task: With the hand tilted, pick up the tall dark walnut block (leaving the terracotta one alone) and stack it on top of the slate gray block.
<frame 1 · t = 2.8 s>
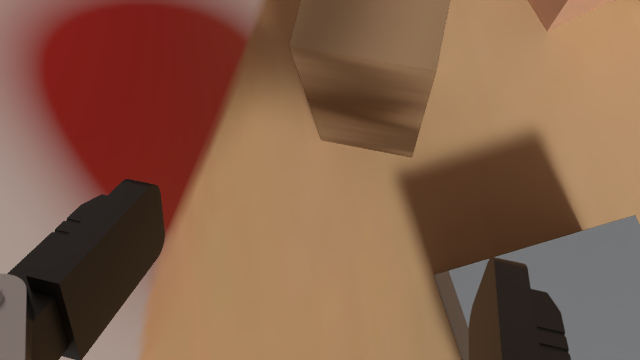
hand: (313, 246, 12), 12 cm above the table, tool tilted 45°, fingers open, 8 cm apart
walnut block: (375, 105, 26), on the table
slate gray block: (535, 329, 23), on the table
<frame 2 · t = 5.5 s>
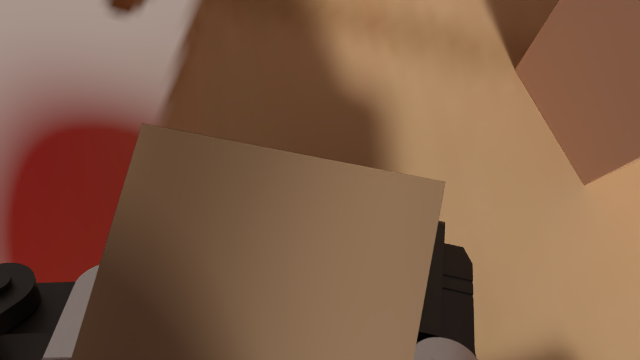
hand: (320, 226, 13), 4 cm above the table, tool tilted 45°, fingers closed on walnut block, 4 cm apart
walnut block: (321, 299, 17), on the table, touching gripper
terracotta block: (609, 97, 17), on the table
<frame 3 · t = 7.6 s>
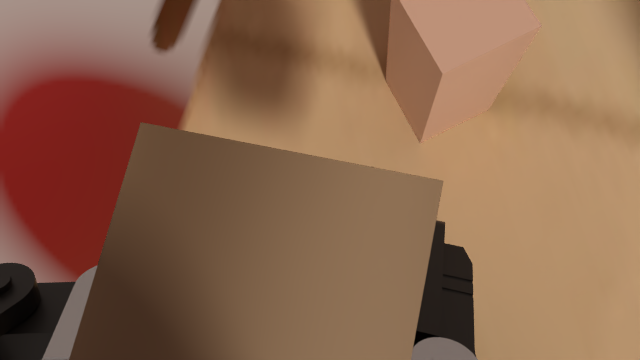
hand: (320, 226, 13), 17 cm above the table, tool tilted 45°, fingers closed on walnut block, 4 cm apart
walnut block: (320, 299, 17), point 13 cm above the table, touching gripper
terracotta block: (435, 95, 31), on the table
when the fingers open (10 cm above the table, at t = 9.9 s): walnut block drops 1 cm, resting on slate gray block.
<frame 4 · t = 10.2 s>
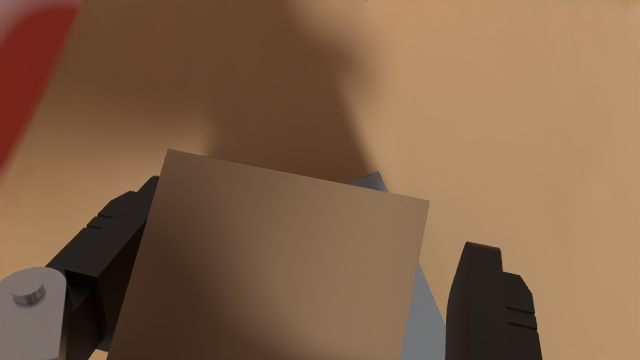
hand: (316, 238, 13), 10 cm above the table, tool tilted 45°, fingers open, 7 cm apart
walnut block: (325, 301, 18), point 5 cm above the table, touching slate gray block
slate gray block: (334, 297, 23), on the table, touching walnut block
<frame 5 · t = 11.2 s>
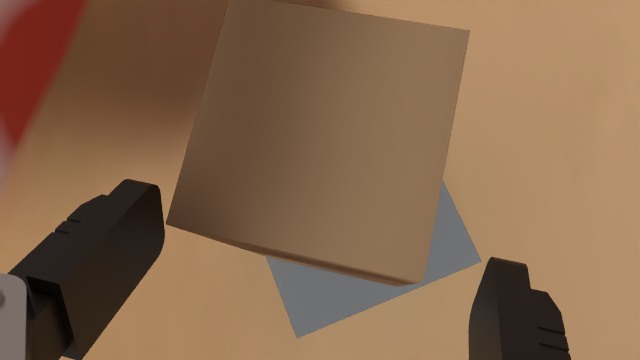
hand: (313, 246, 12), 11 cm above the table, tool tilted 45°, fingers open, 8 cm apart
walnut block: (347, 211, 19), point 5 cm above the table, touching slate gray block
slate gray block: (355, 225, 24), on the table, touching walnut block
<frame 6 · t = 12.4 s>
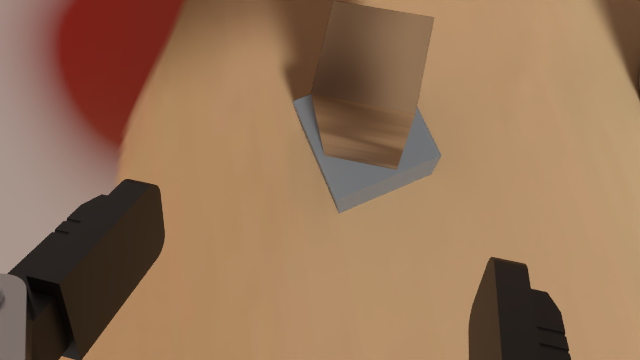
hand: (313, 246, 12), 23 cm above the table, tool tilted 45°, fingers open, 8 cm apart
walnut block: (367, 128, 32), point 5 cm above the table, touching slate gray block
slate gray block: (364, 150, 37), on the table, touching walnut block
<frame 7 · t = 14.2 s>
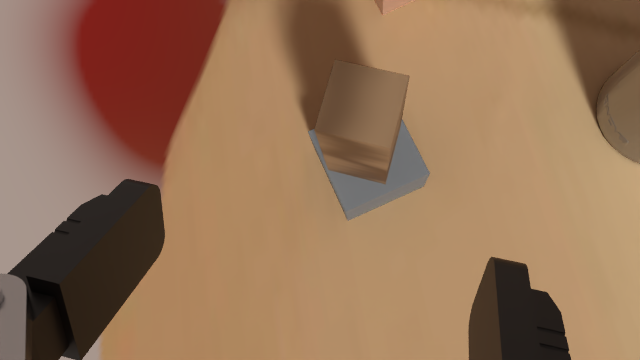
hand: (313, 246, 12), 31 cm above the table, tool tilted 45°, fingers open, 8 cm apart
walnut block: (364, 149, 39), point 5 cm above the table
slate gray block: (368, 167, 44), on the table
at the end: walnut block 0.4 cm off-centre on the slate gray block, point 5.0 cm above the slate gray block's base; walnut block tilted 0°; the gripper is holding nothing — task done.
